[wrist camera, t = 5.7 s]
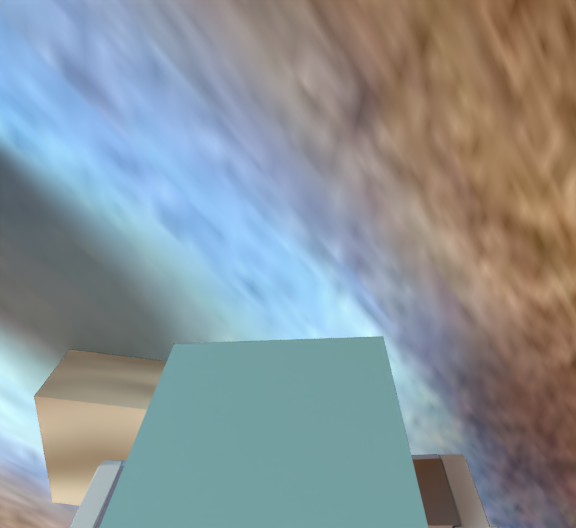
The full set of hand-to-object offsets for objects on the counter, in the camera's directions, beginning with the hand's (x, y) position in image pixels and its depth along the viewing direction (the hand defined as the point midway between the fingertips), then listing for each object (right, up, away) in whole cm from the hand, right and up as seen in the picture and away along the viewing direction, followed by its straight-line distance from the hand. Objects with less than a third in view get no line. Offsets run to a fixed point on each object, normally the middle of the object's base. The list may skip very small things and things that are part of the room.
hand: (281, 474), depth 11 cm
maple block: (-9, -4, +17) cm, 20 cm away
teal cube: (0, +1, +2) cm, 2 cm away
